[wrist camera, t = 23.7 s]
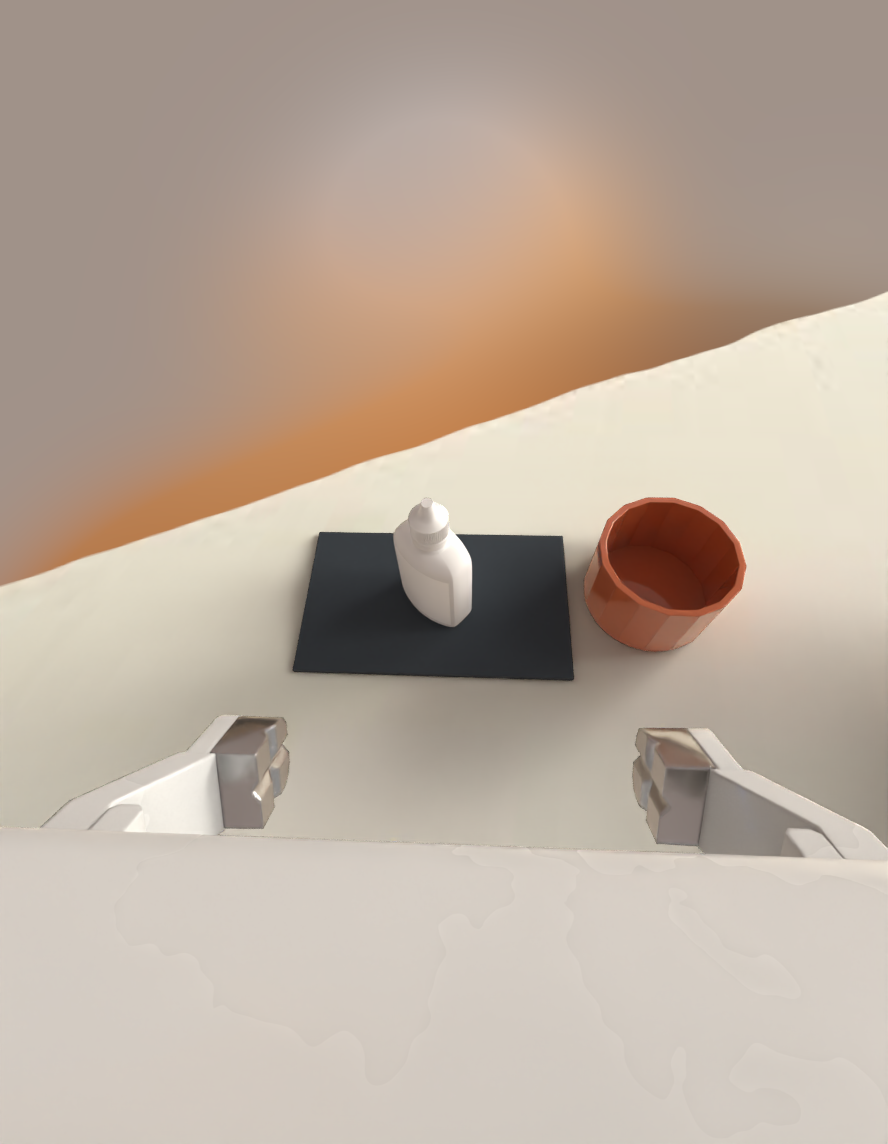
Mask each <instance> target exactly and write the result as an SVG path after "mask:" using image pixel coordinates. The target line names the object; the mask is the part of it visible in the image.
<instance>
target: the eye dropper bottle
mask: <svg viewBox="0 0 888 1144" xmlns="http://www.w3.org/2000/svg"><path fill="white" fill-rule="evenodd" d="M393 540H394V546H395V552H396V556H397V561H398V566H399V571H400V575H401V580H402V585H403V588H404V591H405V593H406V595H407V596H408V598H409V600H410V601H411V602H412V604H413V605H414V606H415V607H416V608H417V609H418V610H419V611H420V612H421V613H422V614H423V615H425V616H426V617H427V618H429V619H431V620H433V621H434V622H437V623H439V624H441V625H444V626H448V627H455V626H457V625H458V624H459V623H460V622H461V621H462V620H463V619H464V618H465V617H466V616H467V615H468V614H469V613H470V611H471V609H472V562H471V558H470V555H469V553H468V551H467V549H466V548H465V546H464V545H463V543H462V542H461V540H460V539H459V538H458V537H457V536H456V535H455V534H454V533H453V532H452V531H451V530H450V529H449V515H448V512H447V510H446V509H445V507H443V506H442V505H440V504H439V503H436V502H433V501H432V499H430V498H424V499H422V501H421V503H420V504H418V505H416V506H415V507H414V508H412V510H411V511H410V513H409V516H408V519H407V520H405V521H404V522H403V523H402V524H401V525H399V527H398V528H397V529H396V530H395V532H394V534H393Z"/></svg>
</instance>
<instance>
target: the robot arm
mask: <svg viewBox="0 0 888 1144" xmlns="http://www.w3.org/2000/svg"><path fill="white" fill-rule="evenodd" d="M287 735H288V733H287V724H286V721H285V719H284V718H282V717H261V716H241V715H220V716H217V717H216V718H215V719H214V720H213V722H212V723H211V724H210V725H209V726H208V727H207V728H206V729H205V730H204V732H203V733H202V734H201V735H200V736H199V737H198V738H197V739H196V741H195V742H194V743H193V744H192V745H191V746H190V747H189V748H188V749H187V751H186V752H178V753H175V754H173V755H171V756H169V757H166V758H164V759H162V760H160V761H157V762H155V763H153V764H151V765H148V766H146V767H144V768H142V769H139V770H137V771H135V772H133V773H130V774H128V775H126V776H123V777H121V778H119V779H117V780H114V781H112V782H110V783H108V784H105V785H103V786H101V787H99V788H96V789H94V790H92V791H90V792H87V793H85V794H83V795H81V796H78V797H76V798H74V799H72V800H69V801H68V802H67V803H66V804H65V805H64V806H63V807H61V808H60V809H59V810H58V811H57V812H56V813H55V814H54V815H53V816H52V817H51V818H49V819H48V820H47V821H46V822H45V823H44V824H43V825H42V826H41V827H40V828H23V827H0V1144H888V848H887V847H886V846H885V845H884V844H883V843H882V842H881V841H880V840H879V839H878V838H877V837H876V836H875V835H874V834H873V833H872V832H871V831H870V830H868V829H866V828H864V827H862V826H860V825H858V824H856V823H854V822H852V821H850V820H848V819H846V818H844V817H842V816H840V815H838V814H836V813H834V812H832V811H830V810H828V809H826V808H824V807H822V806H820V805H818V804H816V803H814V802H813V801H811V800H809V799H807V798H805V797H803V796H801V795H799V794H797V793H795V792H793V791H791V790H789V789H787V788H785V787H783V786H781V785H779V784H777V783H775V782H773V781H771V780H769V779H767V778H765V777H763V776H761V775H759V774H757V773H755V772H753V771H751V770H743V769H742V768H741V767H740V765H739V764H738V763H737V762H736V761H735V759H734V758H733V757H732V756H731V754H730V753H729V752H728V751H727V750H726V748H725V747H724V746H723V745H722V743H721V742H720V741H719V740H718V739H717V737H716V736H715V735H714V734H713V733H712V731H711V730H709V729H707V728H639V729H638V732H637V735H636V743H635V746H636V748H637V750H638V752H639V753H640V756H639V757H638V758H637V759H636V760H635V761H634V762H633V773H632V779H633V789H634V793H635V797H636V800H637V802H638V804H639V806H640V807H641V808H643V809H644V810H645V811H647V815H646V822H647V824H648V826H649V829H650V831H651V833H652V835H653V837H654V839H655V841H656V844H670V845H686V846H699V847H698V848H699V849H700V850H701V851H702V852H703V853H705V854H702V853H676V852H649V851H623V850H597V849H571V848H544V847H518V846H492V845H466V844H440V843H414V842H388V841H362V840H336V839H310V838H284V837H258V836H232V835H219V834H220V833H221V832H223V831H224V828H237V829H263V828H264V826H265V825H266V823H267V821H268V819H269V817H270V815H271V813H272V811H273V809H274V808H275V806H274V798H276V797H277V796H279V795H280V794H282V792H283V790H284V788H285V786H286V783H287V779H288V775H289V765H290V758H289V751H288V750H287V749H286V748H285V746H284V745H283V742H284V740H285V739H286V737H287Z"/></svg>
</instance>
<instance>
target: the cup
mask: <svg viewBox="0 0 888 1144" xmlns="http://www.w3.org/2000/svg"><path fill="white" fill-rule="evenodd" d="M745 571H746V562H745V559H744V555H743V552H742V548H741V545H740V542H739V541H738V539H737V538H736V537H735V536H734V534H733V533H732V532H731V530H730V529H729V528H728V527H727V525H726V524H725V523H724V522H723V521H722V520H720V519H719V518H717V517H716V516H714V515H713V514H711V513H710V512H708V511H707V510H706V509H704V508H703V507H701V506H698V505H695V504H692V503H689V502H686V501H683V500H679V499H676V498H650V497H648V498H644V499H641V500H638V501H635V502H632V503H629V504H626V505H624V506H623V507H622V508H620V509H619V510H618V511H617V512H616V513H615V514H614V515H612V516H611V517H610V518H609V519H608V520H607V522H606V525H605V527H604V530H603V532H602V535H601V537H600V540H599V542H598V545H597V548H596V550H595V553H594V555H593V558H592V560H591V563H590V565H589V568H588V571H587V573H586V576H585V578H584V596H585V601H586V604H587V607H588V609H589V611H590V613H591V615H592V617H593V618H594V620H595V621H596V622H597V624H598V625H599V626H600V627H601V628H602V629H603V630H604V631H605V632H606V633H607V634H609V635H610V636H611V637H613V638H614V639H616V640H617V641H619V642H621V643H623V644H625V645H627V646H630V647H633V648H636V649H640V650H644V651H654V652H659V651H669V650H673V649H677V648H680V647H682V646H684V645H686V644H688V643H690V642H692V641H693V640H694V639H695V638H696V637H697V636H698V635H699V634H700V633H701V632H702V631H703V630H704V629H705V628H706V627H707V626H708V625H709V624H710V623H711V621H712V620H713V619H714V618H715V617H716V616H717V615H718V614H719V613H720V612H721V611H722V610H723V609H724V608H725V607H726V606H727V605H728V604H729V602H730V601H731V600H732V599H733V598H734V597H735V596H736V595H737V594H738V593H739V592H740V591H741V589H742V585H743V580H744V576H745Z"/></svg>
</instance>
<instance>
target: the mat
mask: <svg viewBox="0 0 888 1144" xmlns="http://www.w3.org/2000/svg"><path fill="white" fill-rule="evenodd" d="M393 534H394V533H344V532H320V533H319V538H318V543H317V548H316V553H315V558H314V563H313V568H312V574H311V579H310V584H309V589H308V594H307V599H306V604H305V609H304V614H303V620H302V625H301V630H300V635H299V640H298V645H297V650H296V655H295V661H294V666H293V671H294V672H317V673H349V674H381V675H413V676H445V677H477V678H509V679H541V680H573V679H574V674H573V661H572V649H571V636H570V624H569V611H568V598H567V586H566V573H565V561H564V548H563V537H562V536H524V535H464V534H455V535H456V536H457V537H458V538H459V539H460V540H461V542H462V543H463V545H464V546H465V548H466V549H467V551H468V553H469V555H470V558H471V562H472V609H471V611H470V613H469V614H468V615H467V616H466V617H465V618H464V619H463V620H462V621H461V622H460V623H459V624H458V625H457V626H455V627H448V626H444V625H441V624H439V623H437V622H434V621H433V620H431V619H429V618H427V617H426V616H425V615H423V614H422V613H421V612H420V611H419V610H418V609H417V608H416V607H415V606H414V605H413V604H412V602H411V601H410V600H409V598H408V596H407V595H406V593H405V591H404V588H403V585H402V580H401V575H400V571H399V566H398V561H397V556H396V552H395V546H394V540H393Z"/></svg>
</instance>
